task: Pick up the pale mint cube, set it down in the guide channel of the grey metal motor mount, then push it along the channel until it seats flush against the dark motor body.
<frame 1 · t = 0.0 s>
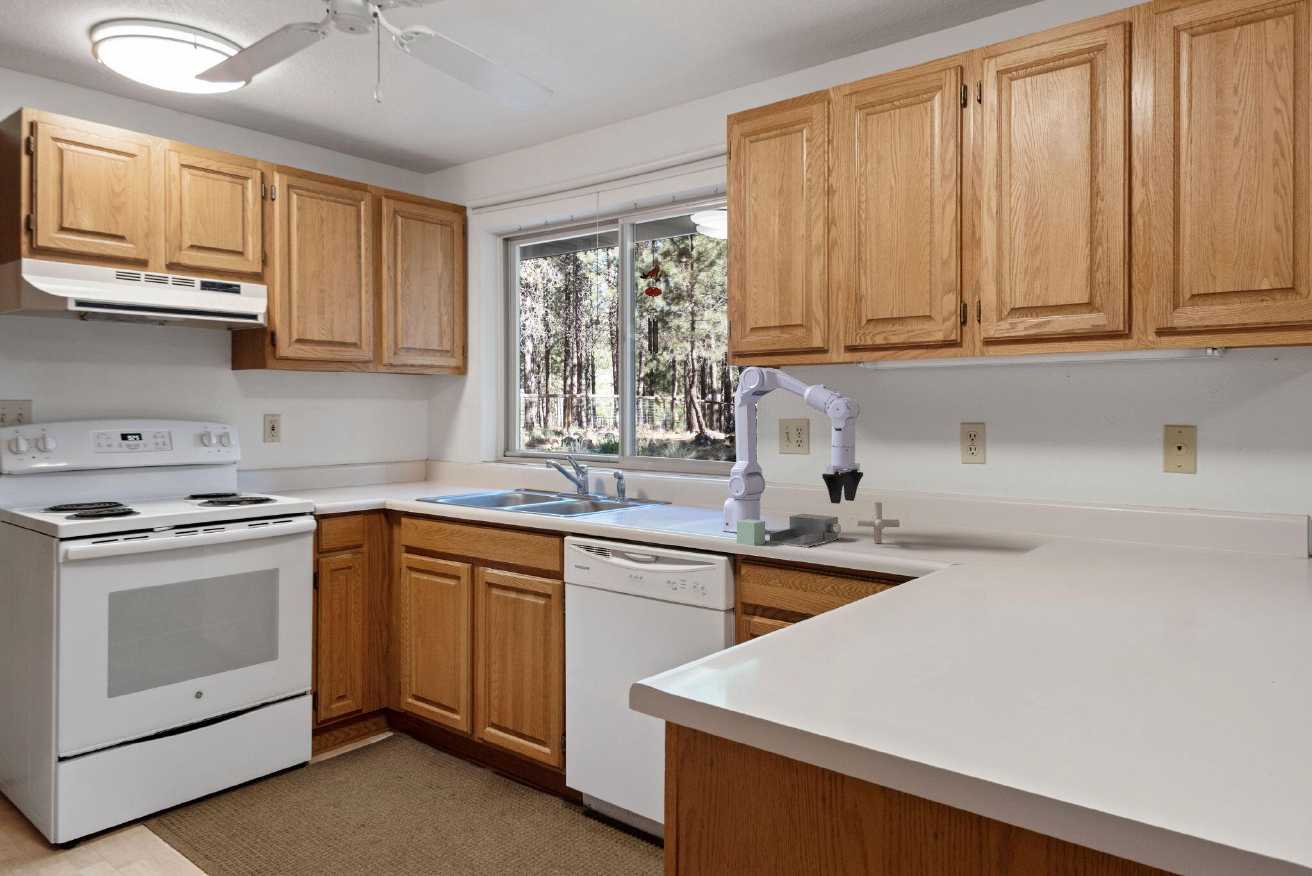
hand: (842, 501, 204), 10 cm above the counter, tool pointing down, fingers open, 7 cm apart
motor mount: (803, 540, 207), on the counter
pipe connector: (877, 544, 203), on the counter
pale mint cube: (750, 543, 203), on the counter
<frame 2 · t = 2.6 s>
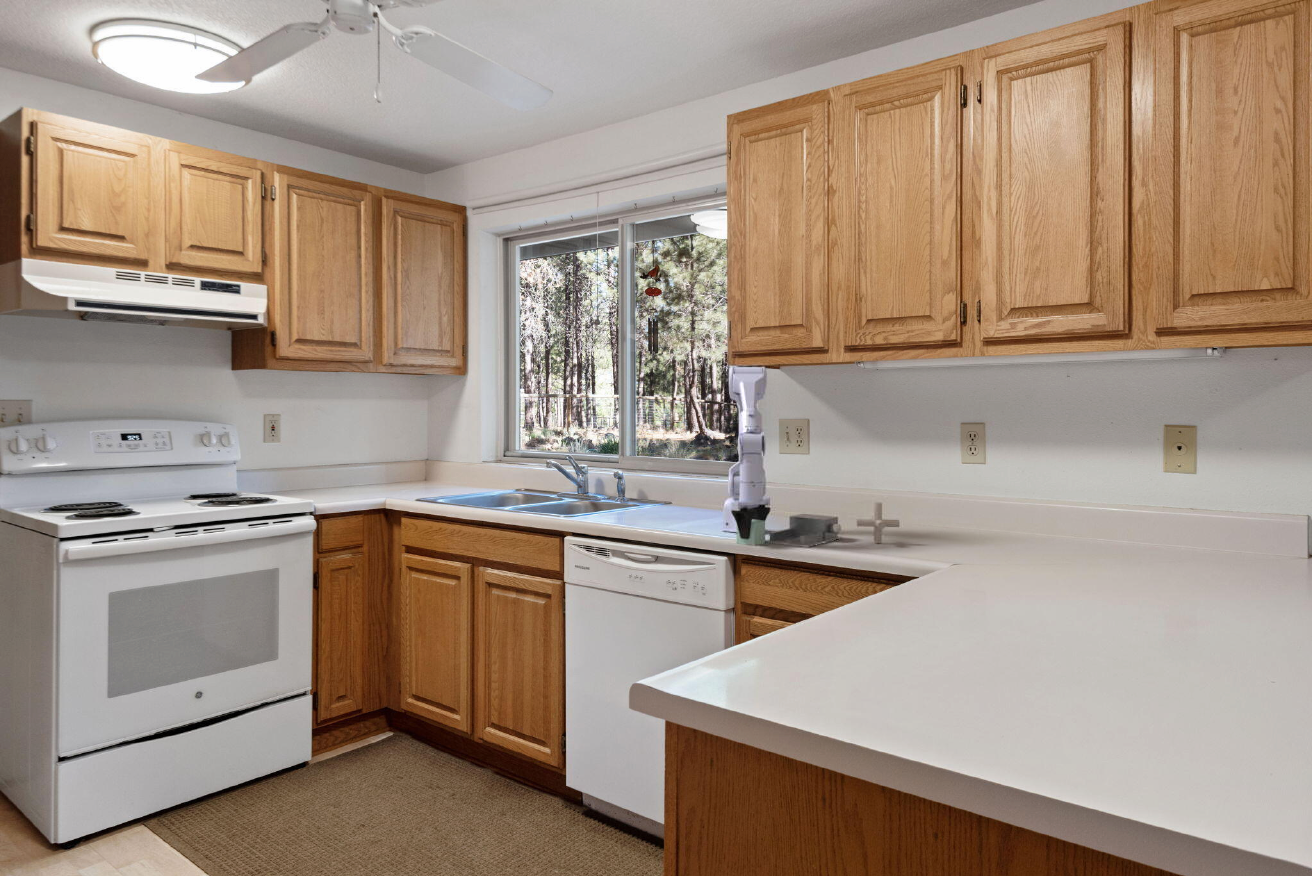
hand: (750, 537, 203), 1 cm above the counter, tool pointing down, fingers closed on pale mint cube, 5 cm apart
pale mint cube: (750, 543, 203), on the counter, touching gripper
everything else where it was.
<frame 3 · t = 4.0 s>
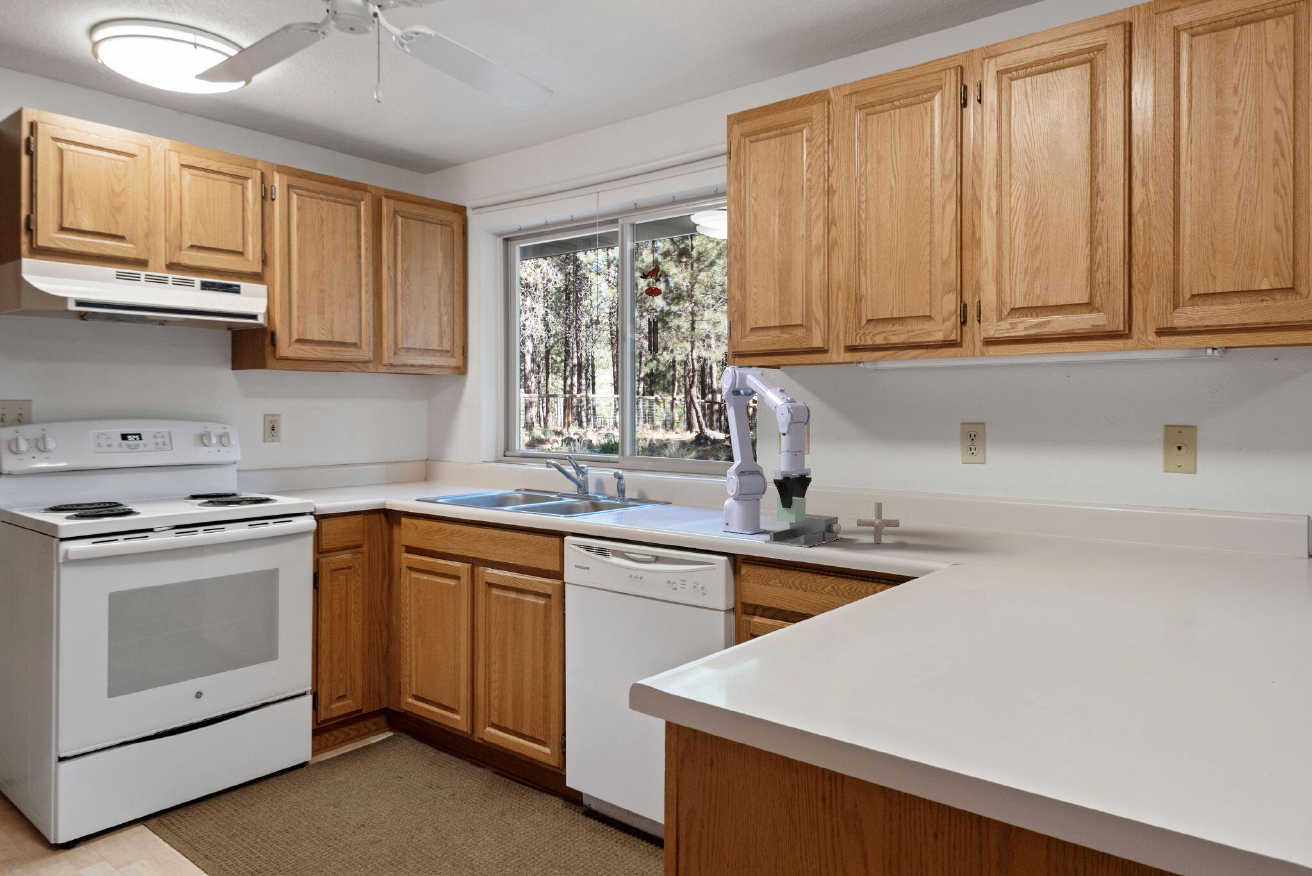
hand: (792, 507, 203), 9 cm above the counter, tool pointing down, fingers closed on pale mint cube, 5 cm apart
pale mint cube: (791, 520, 203), point 6 cm above the counter, touching gripper
everything else where it was.
when the fingers open (3 cm above the counter, at t = 5.5 s): pale mint cube stays where it is, resting on motor mount.
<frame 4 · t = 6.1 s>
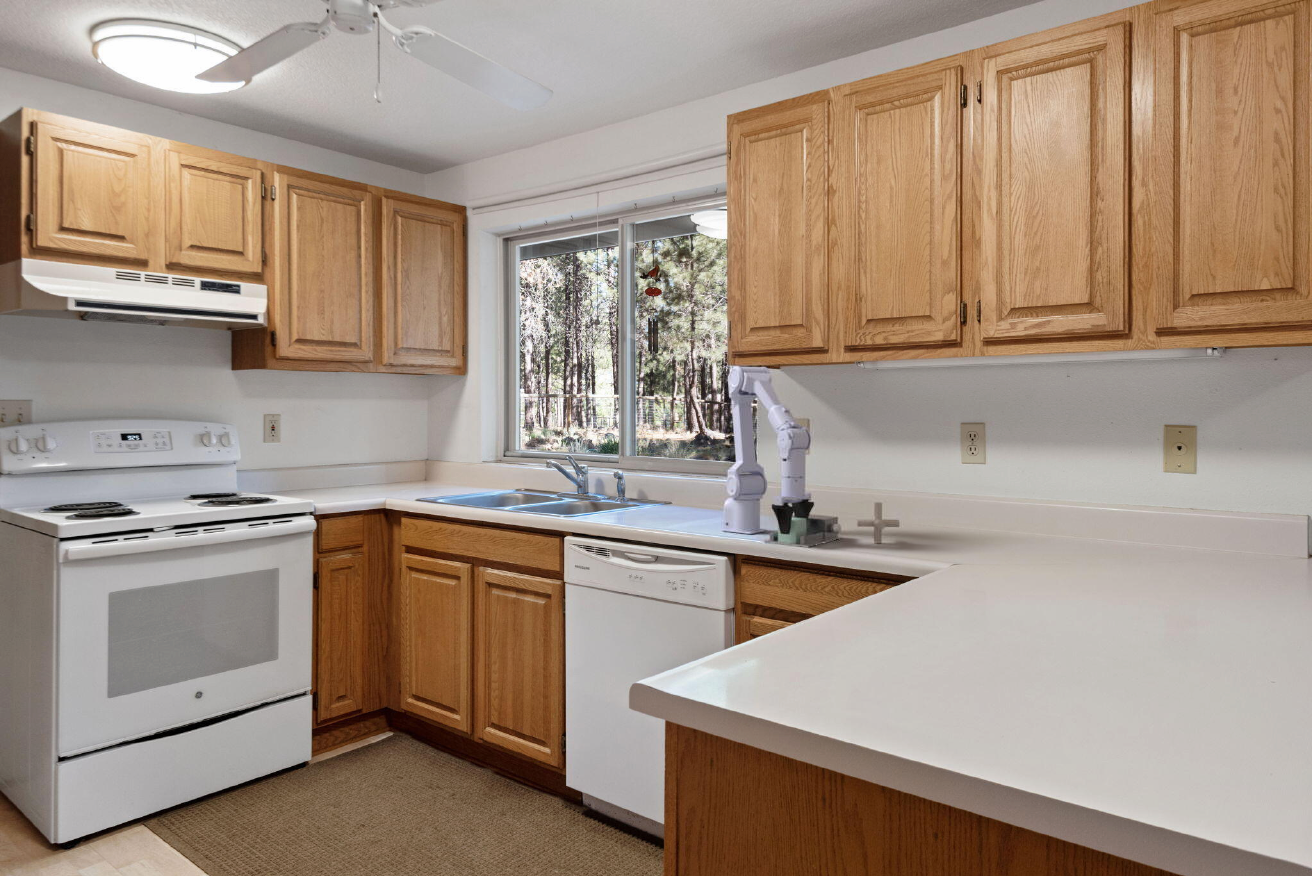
hand: (792, 532, 203), 3 cm above the counter, tool pointing down, fingers open, 7 cm apart
pale mint cube: (791, 541, 203), resting on motor mount
everything else where it was.
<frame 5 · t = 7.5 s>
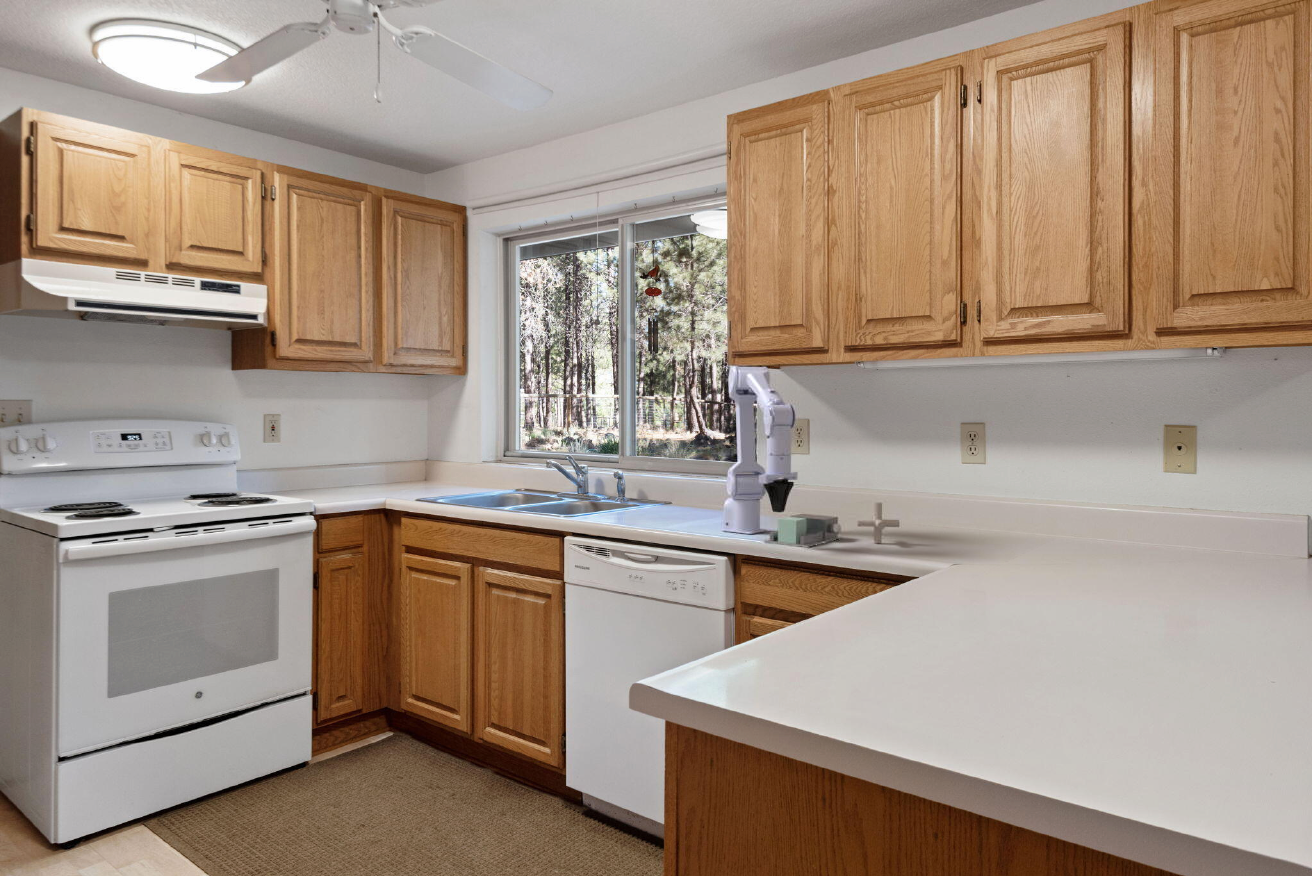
hand: (778, 511, 197), 8 cm above the counter, tool pointing down, fingers closed
nothing on the counter moved.
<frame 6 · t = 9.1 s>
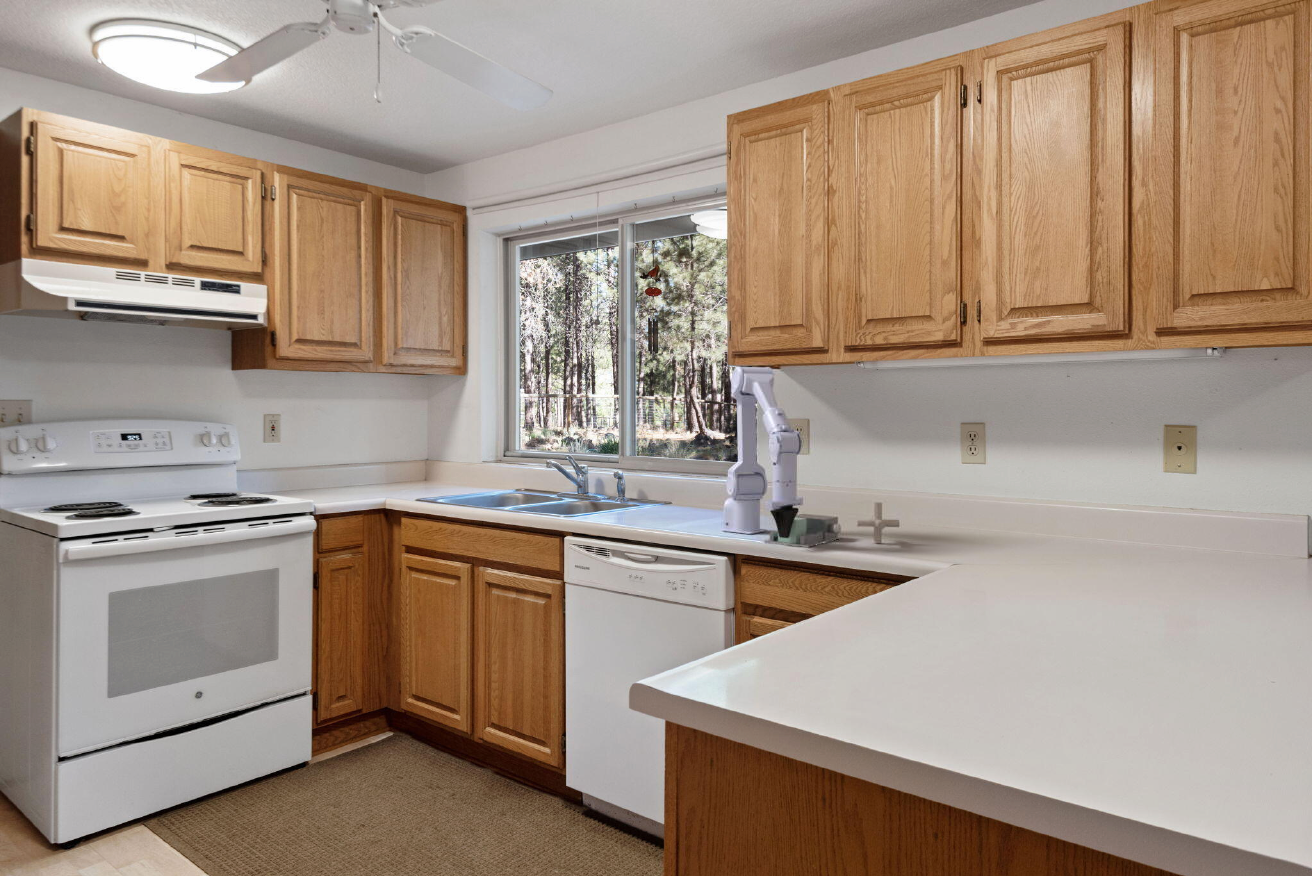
hand: (784, 537, 200), 2 cm above the counter, tool pointing down, fingers closed
pale mint cube: (792, 541, 203), point 1 cm above the counter, touching gripper, motor mount
everything else where it was.
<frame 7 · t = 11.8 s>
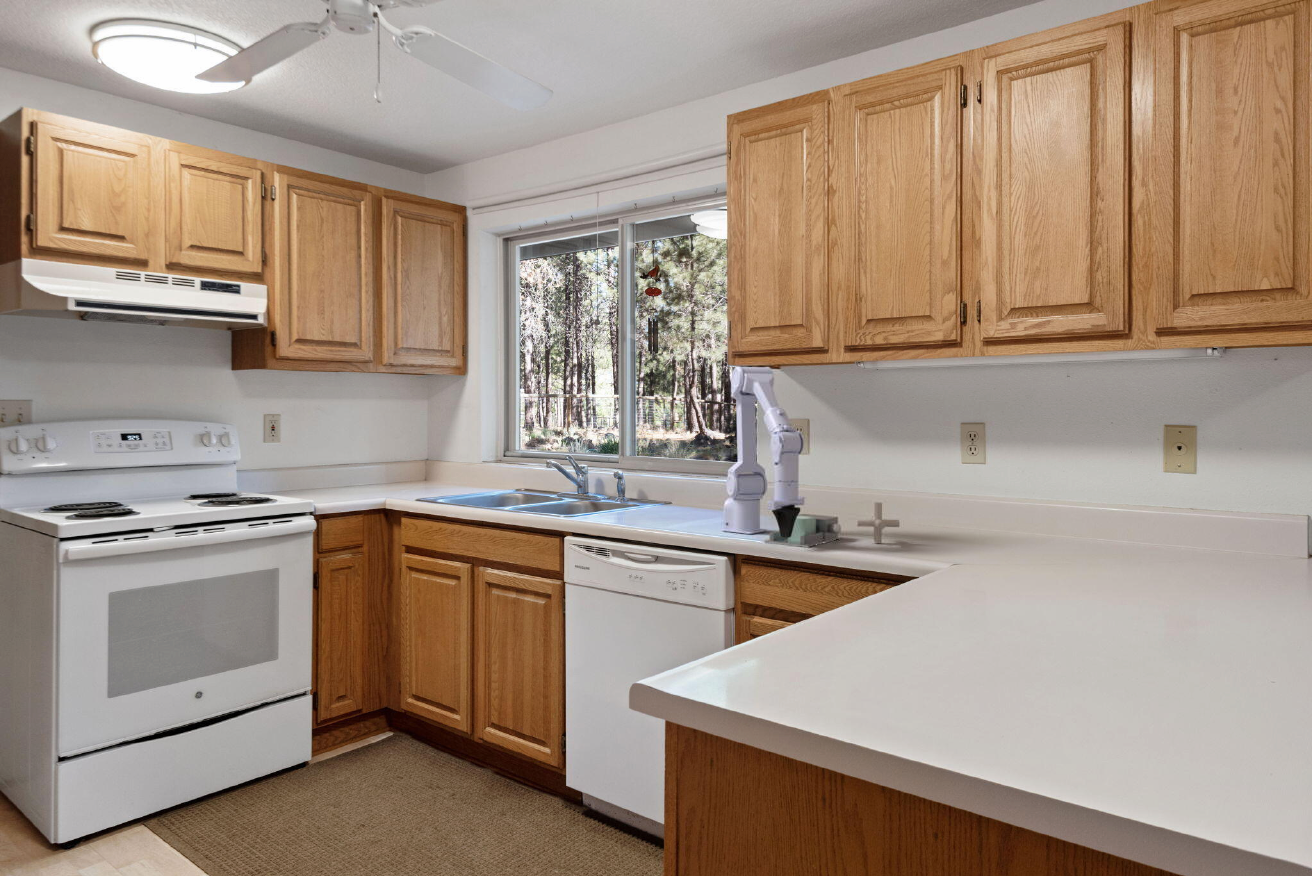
hand: (785, 537, 200), 2 cm above the counter, tool pointing down, fingers closed
pale mint cube: (801, 539, 205), resting on motor mount
everything else where it was.
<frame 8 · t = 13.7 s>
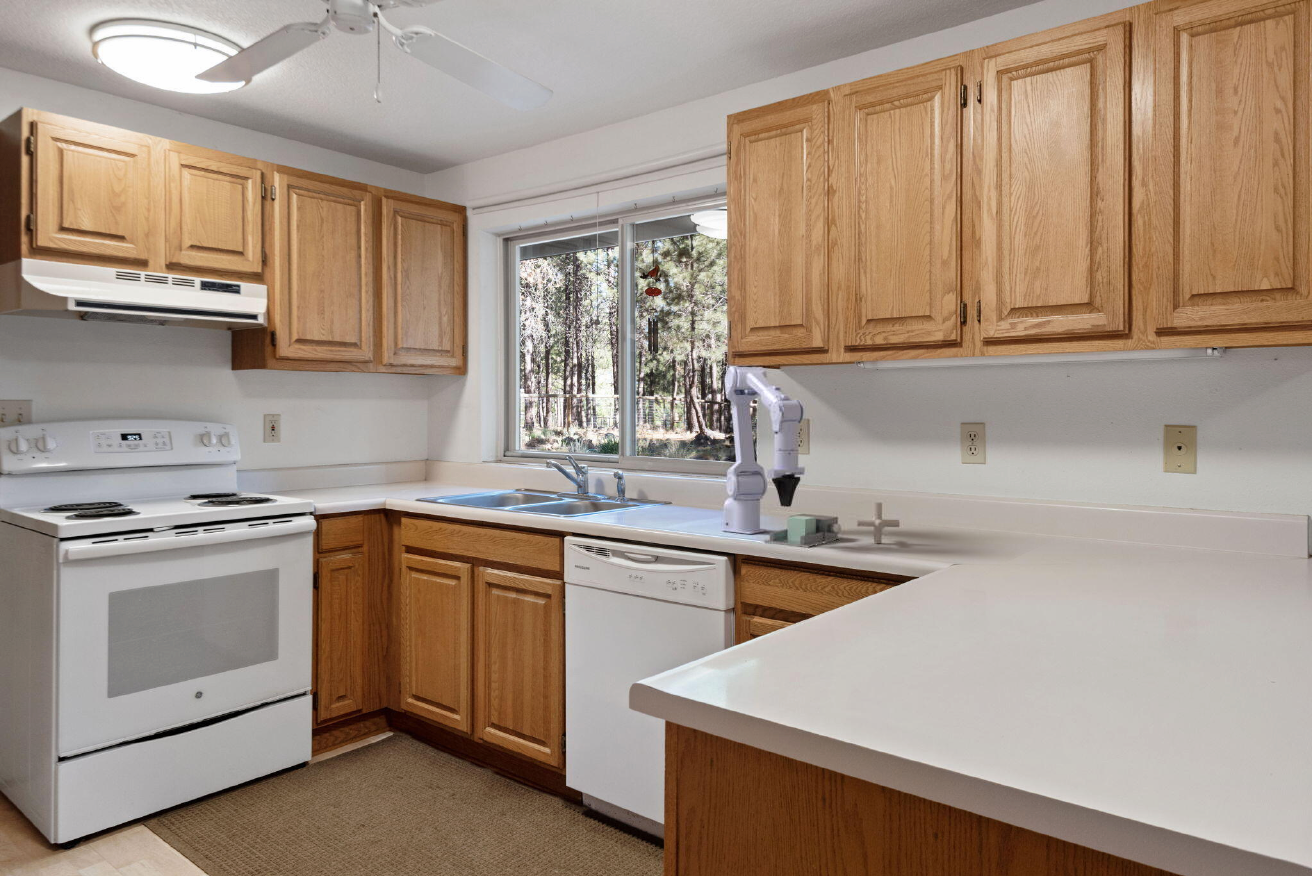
hand: (785, 506, 200), 9 cm above the counter, tool pointing down, fingers closed
nothing on the counter moved.
at the end: pale mint cube 0.9 cm from the target spot on the motor mount, point 0.5 cm above the motor mount's base; pale mint cube tilted 0° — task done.
